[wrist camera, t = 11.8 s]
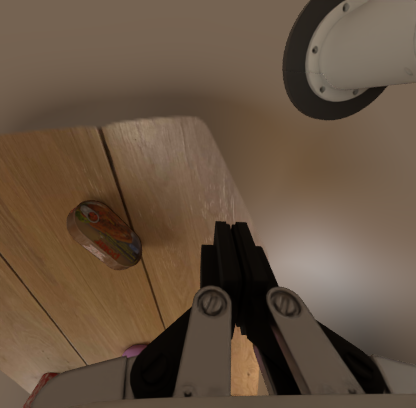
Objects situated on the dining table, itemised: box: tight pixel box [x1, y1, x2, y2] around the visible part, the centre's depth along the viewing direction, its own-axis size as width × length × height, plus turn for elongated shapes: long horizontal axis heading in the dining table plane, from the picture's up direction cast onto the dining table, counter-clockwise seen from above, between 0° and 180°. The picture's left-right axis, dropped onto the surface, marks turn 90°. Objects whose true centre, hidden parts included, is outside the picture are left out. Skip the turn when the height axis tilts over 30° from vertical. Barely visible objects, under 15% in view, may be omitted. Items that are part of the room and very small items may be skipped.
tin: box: [67, 200, 142, 270], centre depth 36 cm, size 15×3×8 cm, turn 33°
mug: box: [22, 373, 58, 408], centre depth 63 cm, size 13×9×14 cm
